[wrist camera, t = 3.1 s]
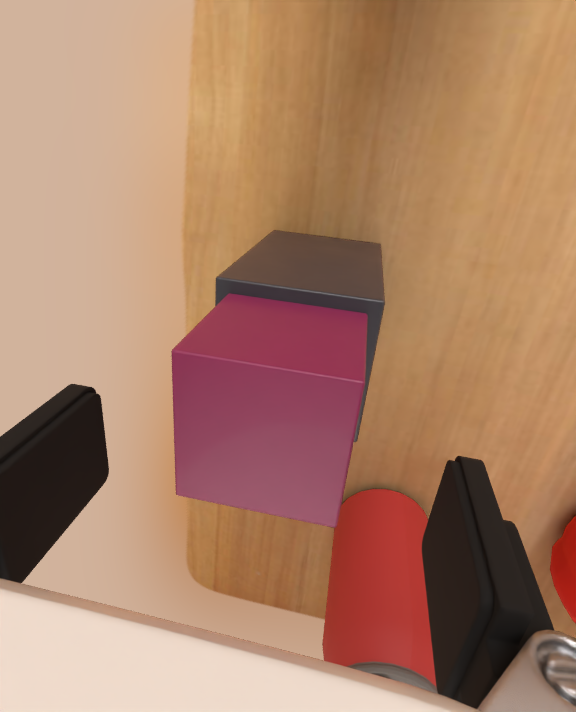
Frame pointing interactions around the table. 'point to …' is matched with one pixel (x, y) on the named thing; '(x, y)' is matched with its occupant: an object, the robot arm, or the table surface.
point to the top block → (269, 406)
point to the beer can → (380, 590)
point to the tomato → (565, 568)
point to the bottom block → (313, 279)
